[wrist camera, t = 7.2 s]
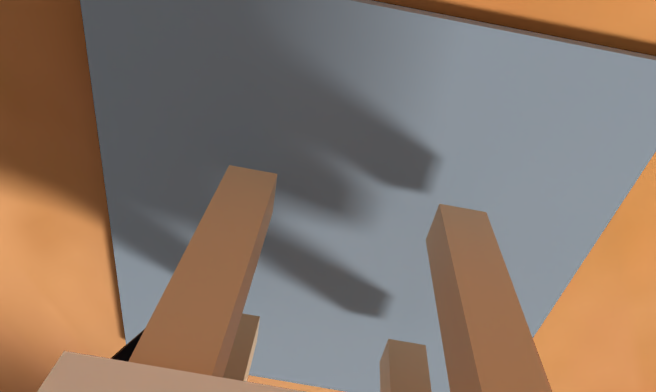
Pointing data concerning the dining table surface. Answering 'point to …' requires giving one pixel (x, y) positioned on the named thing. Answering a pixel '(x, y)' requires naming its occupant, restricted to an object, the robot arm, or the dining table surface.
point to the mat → (357, 159)
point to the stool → (242, 329)
